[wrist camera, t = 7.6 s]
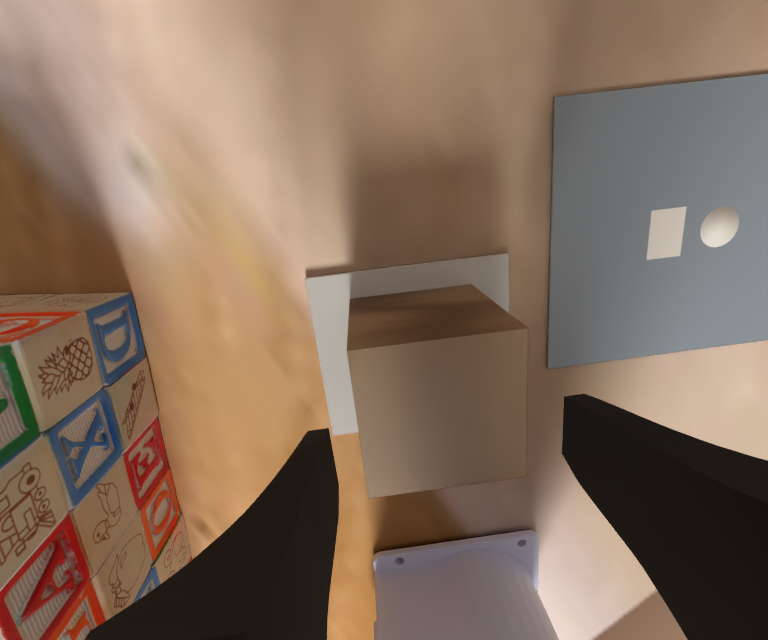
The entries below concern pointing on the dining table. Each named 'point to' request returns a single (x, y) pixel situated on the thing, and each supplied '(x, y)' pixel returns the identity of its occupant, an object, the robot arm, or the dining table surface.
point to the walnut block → (437, 389)
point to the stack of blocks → (79, 467)
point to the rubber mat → (337, 290)
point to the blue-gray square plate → (658, 220)
